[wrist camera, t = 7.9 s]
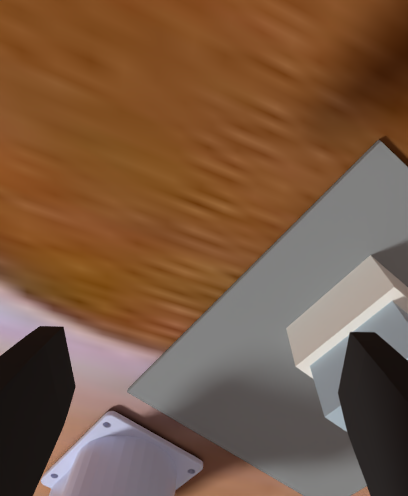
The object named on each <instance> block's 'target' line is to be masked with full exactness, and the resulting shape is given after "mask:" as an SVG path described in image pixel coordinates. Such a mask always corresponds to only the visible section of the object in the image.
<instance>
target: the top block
mask: <svg viewBox="0 0 408 496" xmlns="http://www.w3.org/2000/svg"><path fill="white" fill-rule="evenodd" d="M353 332H375V333H376V334H378V335H379V336H380V337H381V338H383V339H384V340H385V341H386V342H387V343H388V344H389V345H391V346H392V347H393V348H394V349H395V350H396V351H397V352H399V353H400V354H401V355H402V356H403V357H404V358H405V359H406V360H408V313H406V312H405V311H404V310H403V309H401V308H400V307H399V306H398V305H397V304H395V303H394V302H393V301H391V302H390V303H389V304H387V305H386V306H385V307H384V308H382V309H381V310H380V311H379V312H377V313H376V314H375V315H373V316H372V317H371V318H370V319H368V320H367V321H366V322H365V323H363V324H362V325H361V326H360V327H358V328H357V329H356V330H355V331H353ZM348 339H349V335H348V336H347V337H346V338H344V339H343V340H342V341H341V342H339V343H338V344H337V345H336V346H334V347H333V348H332V349H331V350H329V351H328V352H327V353H325V354H324V355H323V356H322V357H320V358H319V359H318V360H317V361H315V362H314V363H313V364H312V365H310V369H311V372H312V376H313V379H314V382H315V386H316V389H317V393H318V396H319V400H320V403H321V407H322V410H323V413H324V417H325V418H327V419H328V420H330V421H331V422H333V423H334V424H336V425H337V426H339V427H340V428H342V429H343V430H345V431H346V432H347V429H346V425H345V421H344V417H343V413H342V409H341V404H340V400H339V396H338V389H339V384H340V379H341V374H342V369H343V364H344V359H345V354H346V349H347V344H348Z"/></svg>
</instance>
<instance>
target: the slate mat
mask: <svg viewBox="0 0 408 496" xmlns="http://www.w3.org/2000/svg"><path fill="white" fill-rule="evenodd" d="M370 255H371V256H372V257H373V258H374V259H375V260H377V261H378V262H379V263H380V264H381V265H382V266H384V267H385V268H386V269H387V270H388V271H389V272H391V273H392V274H393V275H394V276H395V277H396V278H398V279H399V280H400V281H401V282H402V283H403V284H405V285H406V286H407V287H408V167H407V166H406V165H405V164H404V163H403V162H402V161H401V160H400V159H399V158H398V157H397V156H396V155H395V154H394V153H393V152H392V151H391V150H390V149H389V148H388V147H386V146H385V145H384V144H383V143H382V142H381V141H380V140H378V141H377V142H376V143H375V144H374V145H373V146H372V147H371V148H370V149H369V150H368V151H367V152H366V153H365V154H364V155H363V156H362V157H361V158H360V159H359V160H358V161H357V162H356V163H355V164H354V165H353V166H352V167H351V168H350V169H349V170H348V171H347V172H346V173H345V174H344V175H343V176H342V177H341V178H340V179H338V180H337V181H336V182H335V183H334V184H333V185H332V186H331V187H330V188H329V189H328V190H327V191H326V192H325V193H324V194H323V195H322V196H321V197H320V198H319V199H318V200H317V201H316V202H315V203H314V204H313V205H312V206H311V207H310V208H309V209H308V210H307V211H306V212H305V213H304V214H303V215H302V216H301V217H300V218H299V219H298V220H297V221H296V222H295V223H294V224H293V225H292V226H291V227H290V228H289V229H288V230H287V231H286V232H285V233H284V234H283V235H282V236H281V237H280V238H279V239H278V240H277V241H276V242H275V243H274V244H273V245H272V246H271V247H270V248H269V249H268V250H267V251H266V252H265V253H264V254H263V255H262V256H261V257H260V258H259V259H258V260H257V261H256V262H255V263H254V264H253V265H252V266H251V267H250V268H249V269H248V270H247V271H246V272H245V273H244V274H243V275H242V276H241V277H240V278H239V279H238V280H237V281H236V282H235V283H234V284H233V285H232V286H231V287H230V288H229V289H228V290H227V291H226V292H225V293H224V294H223V295H222V296H221V297H220V298H219V299H218V300H217V301H216V302H215V303H214V304H213V305H212V306H211V307H210V308H209V309H208V310H207V311H206V312H205V313H204V314H203V315H202V316H201V317H200V318H199V319H198V320H197V321H196V322H195V323H194V324H193V325H192V326H191V327H190V328H189V329H188V330H187V331H186V332H185V333H184V334H183V335H182V336H181V337H180V338H179V339H178V340H177V341H176V342H175V343H174V344H173V345H172V346H171V347H170V348H169V349H168V350H167V351H166V352H165V353H164V354H163V355H162V356H161V357H160V358H158V359H157V360H156V361H155V362H154V363H153V364H152V365H151V366H150V367H149V368H148V369H147V370H146V371H145V372H144V373H143V374H142V375H141V376H140V377H139V378H138V379H137V380H136V381H135V382H134V383H133V384H132V385H131V386H130V387H129V388H128V391H127V392H128V393H129V394H131V395H133V396H135V397H136V398H138V399H140V400H141V401H143V402H145V403H146V404H148V405H150V406H152V407H153V408H155V409H157V410H158V411H160V412H162V413H164V414H165V415H167V416H169V417H170V418H172V419H174V420H175V421H177V422H179V423H181V424H182V425H184V426H186V427H187V428H189V429H191V430H193V431H194V432H196V433H198V434H199V435H201V436H203V437H205V438H206V439H208V440H210V441H211V442H213V443H215V444H216V445H218V446H220V447H222V448H223V449H225V450H227V451H228V452H230V453H232V454H234V455H235V456H237V457H239V458H240V459H242V460H244V461H245V462H247V463H249V464H251V465H252V466H254V467H256V468H257V469H259V470H261V471H263V472H264V473H266V474H268V475H269V476H271V477H273V478H274V479H276V480H278V481H280V482H281V483H283V484H285V485H286V486H288V487H290V488H292V489H293V490H295V491H297V492H298V493H300V494H302V495H304V496H351V495H353V494H354V493H356V492H358V491H359V490H361V489H363V488H364V487H366V486H367V484H366V482H365V479H364V476H363V474H362V471H361V468H360V466H359V463H358V460H357V458H356V455H355V452H354V449H353V447H352V444H351V441H350V438H349V436H348V433H347V432H346V431H345V430H343V429H342V428H340V427H339V426H337V425H336V424H334V423H333V422H331V421H330V420H328V419H327V418H325V417H324V413H323V410H322V407H321V403H320V400H319V396H318V393H317V389H316V386H315V382H314V379H313V378H311V377H310V376H308V375H307V374H305V373H304V372H303V371H301V370H300V369H298V368H297V367H295V363H294V359H293V354H292V350H291V346H290V342H289V338H288V334H287V330H286V328H287V327H288V326H289V325H290V324H291V323H293V322H294V321H295V320H296V319H297V318H298V317H300V316H301V315H302V314H303V313H304V312H305V311H306V310H308V309H309V308H310V307H311V306H312V305H313V304H315V303H316V302H317V301H318V300H319V299H320V298H321V297H323V296H324V295H325V294H326V293H327V292H328V291H330V290H331V289H332V288H333V287H334V286H335V285H336V284H338V283H339V282H340V281H341V280H342V279H343V278H345V277H346V276H347V275H348V274H349V273H350V272H351V271H353V270H354V269H355V268H356V267H357V266H358V265H360V264H361V263H362V262H363V261H364V260H365V259H366V258H368V257H369V256H370Z"/></svg>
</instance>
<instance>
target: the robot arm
mask: <svg viewBox="0 0 408 496" xmlns="http://www.w3.org/2000/svg"><path fill="white" fill-rule="evenodd" d="M74 390H75V382H74V377H73V372H72V367H71V362H70V357H69V352H68V347H67V342H66V337H65V332H64V327H51V326H40V327H38V328H37V329H35V330H34V331H32V332H31V333H30V334H28V335H27V336H26V337H24V338H23V339H22V340H20V341H19V342H18V343H17V344H15V345H14V346H13V347H11V348H10V349H9V350H7V351H6V352H5V353H4V354H2V355H1V356H0V496H33V494H34V492H35V490H36V487H37V485H38V483H39V481H40V478H41V476H42V474H43V472H44V469H45V467H46V465H47V463H48V460H49V458H50V456H51V454H52V451H53V449H54V447H55V445H56V442H57V440H58V438H59V435H60V433H61V431H62V428H63V426H64V423H65V420H66V417H67V414H68V411H69V408H70V404H71V401H72V397H73V394H74ZM338 396H339V400H340V404H341V409H342V413H343V417H344V421H345V425H346V429H347V433H348V436H349V438H350V441H351V444H352V447H353V449H354V452H355V455H356V458H357V460H358V463H359V466H360V468H361V471H362V474H363V476H364V479H365V482H366V484H367V487H368V490H369V492H370V495H371V496H408V360H406V359H405V358H404V357H403V356H402V355H401V354H400V353H399V352H397V351H396V350H395V349H394V348H393V347H392V346H391V345H389V344H388V343H387V342H386V341H385V340H384V339H383V338H381V337H380V336H379V335H378V334H376V333H375V332H350V333H349V339H348V344H347V349H346V354H345V359H344V364H343V369H342V374H341V379H340V384H339V389H338ZM202 469H203V462H202V461H201V460H200V459H198V458H197V457H195V456H193V455H191V454H190V453H188V452H186V451H184V450H182V449H181V448H179V447H177V446H175V445H174V444H172V443H170V442H168V441H167V440H165V439H163V438H161V437H159V436H158V435H156V434H154V433H152V432H151V431H149V430H147V429H145V428H144V427H142V426H140V425H138V424H136V423H135V422H133V421H131V420H129V419H128V418H126V417H124V416H122V415H121V414H119V413H117V412H115V411H108V412H107V413H105V414H104V415H103V416H102V417H101V418H100V419H99V420H98V421H97V422H96V423H95V424H94V425H93V426H92V427H91V428H90V429H89V430H88V431H87V432H86V433H85V434H84V435H83V436H82V437H81V438H80V439H79V440H78V441H77V442H76V443H75V444H74V445H73V446H72V447H71V448H70V449H69V450H68V451H67V452H66V453H65V454H64V455H63V456H62V457H61V458H60V459H59V460H58V461H57V462H56V463H55V464H54V465H53V466H52V467H51V468H50V469H49V470H48V471H47V472H46V473H45V474H44V475H43V477H42V479H41V482H42V484H43V485H45V486H47V487H49V488H51V491H50V494H49V496H175V490H176V489H178V488H179V487H180V486H182V485H183V484H184V483H186V482H187V481H188V480H190V479H191V478H192V477H194V476H195V475H196V474H197V473H199V472H200V471H201V470H202Z"/></svg>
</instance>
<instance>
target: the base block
mask: <svg viewBox="0 0 408 496" xmlns="http://www.w3.org/2000/svg"><path fill="white" fill-rule="evenodd" d="M391 301H393V302H394V303H395V304H397V305H398V306H399V307H400V308H401V309H403V310H404V311H405V312H406V313H408V287H407V286H406V285H405V284H403V283H402V282H401V281H400V280H399V279H398V278H396V277H395V276H394V275H393V274H392V273H391V272H389V271H388V270H387V269H386V268H385V267H384V266H382V265H381V264H380V263H379V262H378V261H377V260H375V259H374V258H373V257H372V256H371V255H370V256H369V257H368V258H366V259H365V260H364V261H363V262H362V263H361V264H360V265H358V266H357V267H356V268H355V269H354V270H353V271H351V272H350V273H349V274H348V275H347V276H346V277H345V278H343V279H342V280H341V281H340V282H339V283H338V284H336V285H335V286H334V287H333V288H332V289H331V290H330V291H328V292H327V293H326V294H325V295H324V296H323V297H321V298H320V299H319V300H318V301H317V302H316V303H315V304H313V305H312V306H311V307H310V308H309V309H308V310H306V311H305V312H304V313H303V314H302V315H301V316H300V317H298V318H297V319H296V320H295V321H294V322H293V323H291V324H290V325H289V326H288V327H287V328H286V330H287V334H288V338H289V342H290V346H291V350H292V354H293V359H294V363H295V367H297V368H298V369H300V370H301V371H303V372H304V373H305V374H307V375H308V376H310V377H311V378H313V376H312V372H311V369H310V365H312V364H313V363H314V362H315V361H317V360H318V359H319V358H320V357H322V356H323V355H324V354H325V353H327V352H328V351H329V350H331V349H332V348H333V347H334V346H336V345H337V344H338V343H339V342H341V341H342V340H343V339H344V338H346V337H347V336H348V335H349V333H350V332H353V331H355V330H356V329H357V328H358V327H360V326H361V325H362V324H363V323H365V322H366V321H367V320H368V319H370V318H371V317H372V316H373V315H375V314H376V313H377V312H379V311H380V310H381V309H382V308H384V307H385V306H386V305H387V304H389V303H390V302H391Z"/></svg>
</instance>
